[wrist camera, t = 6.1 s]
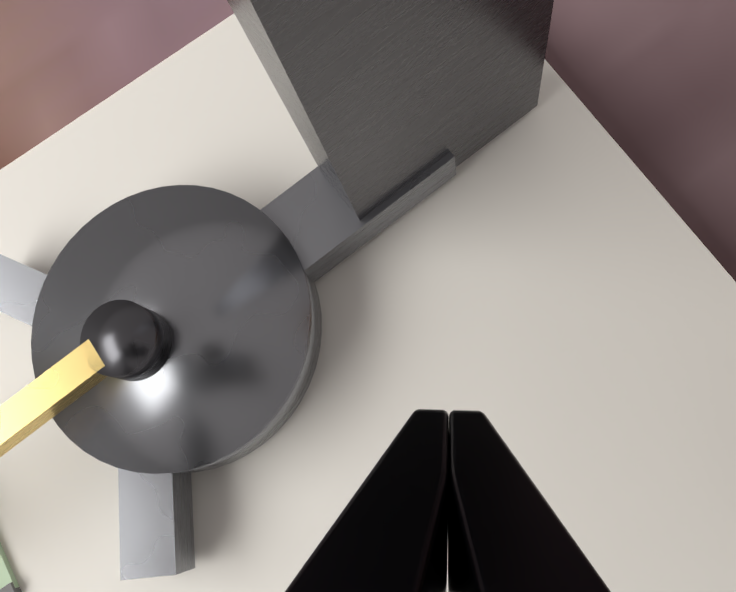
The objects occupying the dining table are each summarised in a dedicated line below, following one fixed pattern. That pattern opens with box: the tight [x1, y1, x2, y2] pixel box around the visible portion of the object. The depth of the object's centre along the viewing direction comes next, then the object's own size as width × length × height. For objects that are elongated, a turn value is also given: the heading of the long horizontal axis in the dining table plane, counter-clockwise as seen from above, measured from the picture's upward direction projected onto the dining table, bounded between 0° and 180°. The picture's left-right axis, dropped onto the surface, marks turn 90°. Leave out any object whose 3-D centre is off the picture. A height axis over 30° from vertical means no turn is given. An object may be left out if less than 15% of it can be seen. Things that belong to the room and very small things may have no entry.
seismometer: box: [0, 0, 554, 580], centre depth 12 cm, size 19×9×9 cm, turn 126°
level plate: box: [0, 14, 736, 592], centre depth 16 cm, size 20×22×2 cm
